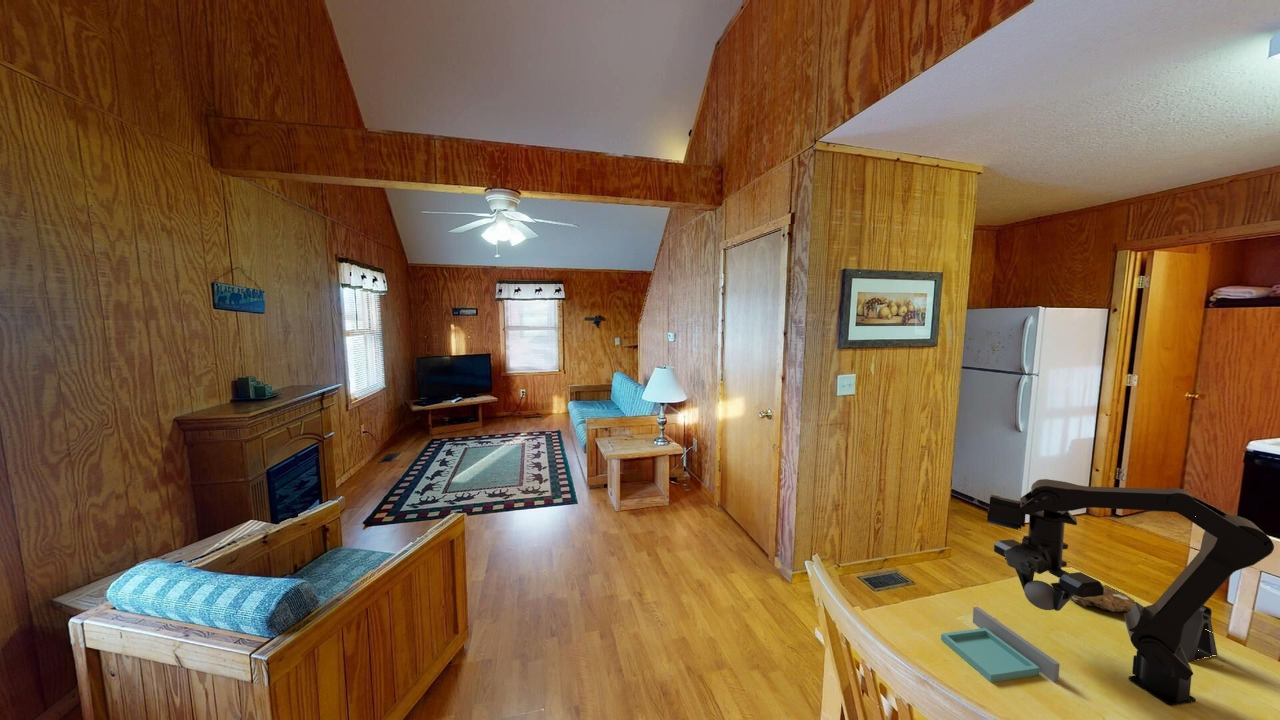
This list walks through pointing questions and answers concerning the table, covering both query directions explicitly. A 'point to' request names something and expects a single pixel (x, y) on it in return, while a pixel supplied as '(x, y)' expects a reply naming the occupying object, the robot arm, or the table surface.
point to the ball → (1040, 594)
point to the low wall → (1018, 644)
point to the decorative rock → (1107, 600)
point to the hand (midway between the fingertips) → (1041, 601)
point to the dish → (990, 655)
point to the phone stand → (1199, 636)
